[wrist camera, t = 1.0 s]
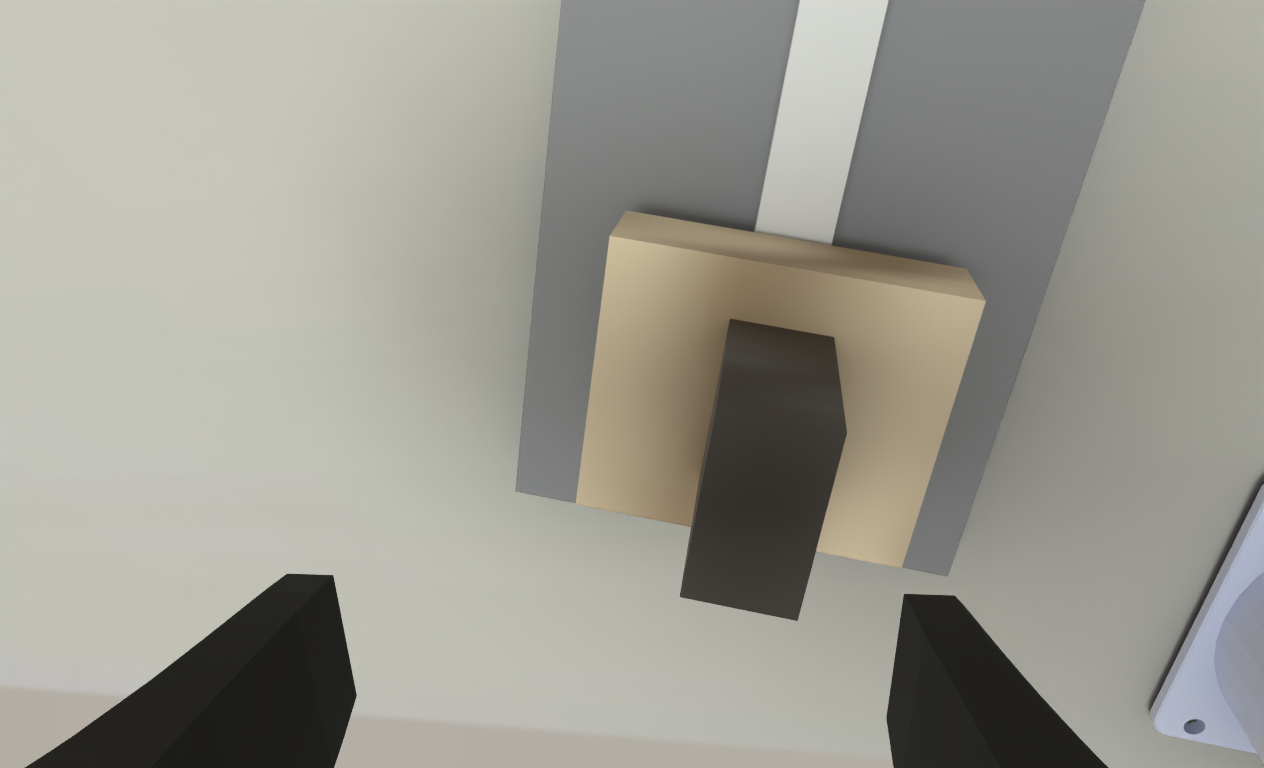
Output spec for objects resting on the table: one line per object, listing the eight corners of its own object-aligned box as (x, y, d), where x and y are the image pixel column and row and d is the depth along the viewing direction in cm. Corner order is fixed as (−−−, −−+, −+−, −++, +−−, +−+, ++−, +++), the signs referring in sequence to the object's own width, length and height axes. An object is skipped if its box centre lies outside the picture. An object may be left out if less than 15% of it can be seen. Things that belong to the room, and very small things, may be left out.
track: (1219, -288, 16) (1274, -320, 15) (940, 548, 24) (952, 596, 22) (609, -364, 17) (588, -402, 15) (527, 468, 25) (507, 507, 23)
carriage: (966, 268, 19) (1040, 392, 13) (891, 517, 21) (928, 705, 16) (625, 210, 19) (564, 306, 14) (592, 458, 22) (530, 622, 16)
